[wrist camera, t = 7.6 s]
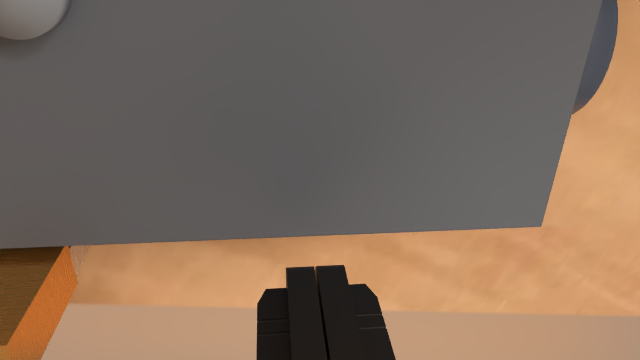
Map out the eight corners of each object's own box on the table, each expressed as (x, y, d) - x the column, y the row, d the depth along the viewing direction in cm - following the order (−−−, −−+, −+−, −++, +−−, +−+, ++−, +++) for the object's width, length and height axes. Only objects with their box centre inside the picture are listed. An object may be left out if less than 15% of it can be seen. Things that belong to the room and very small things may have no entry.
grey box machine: (520, -115, 21) (749, -144, 11) (473, 146, 26) (600, 279, 16) (-280, -147, 17) (-938, -227, 8) (-146, 159, 23) (-439, 335, 13)
